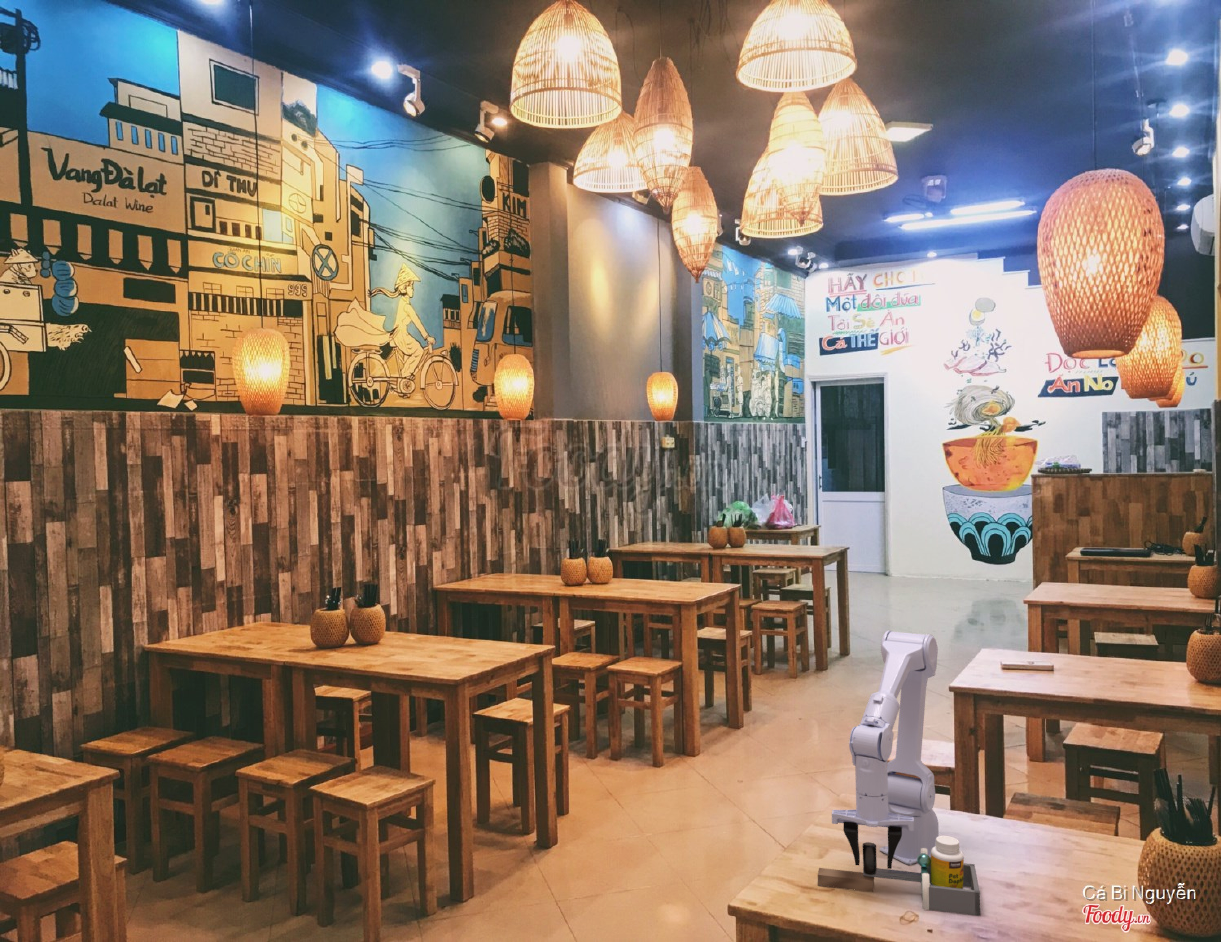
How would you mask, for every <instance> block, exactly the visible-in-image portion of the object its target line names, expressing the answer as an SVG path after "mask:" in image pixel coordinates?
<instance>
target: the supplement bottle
mask: <svg viewBox="0 0 1221 942" xmlns="http://www.w3.org/2000/svg"><path fill="white" fill-rule="evenodd" d="M935 845H936V846H935V847H933V848H932V850H931V858H930V859H931V883H930V885H932V886H941V887H950V888H959V889H964V887H963V866H964V862H965V861H964V856H965V855H964V853H963V852H962V850H960V841H959V840H958V838H956V837H953V836H949V835H939V836H938V837H937V838H936V844H935Z"/></svg>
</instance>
